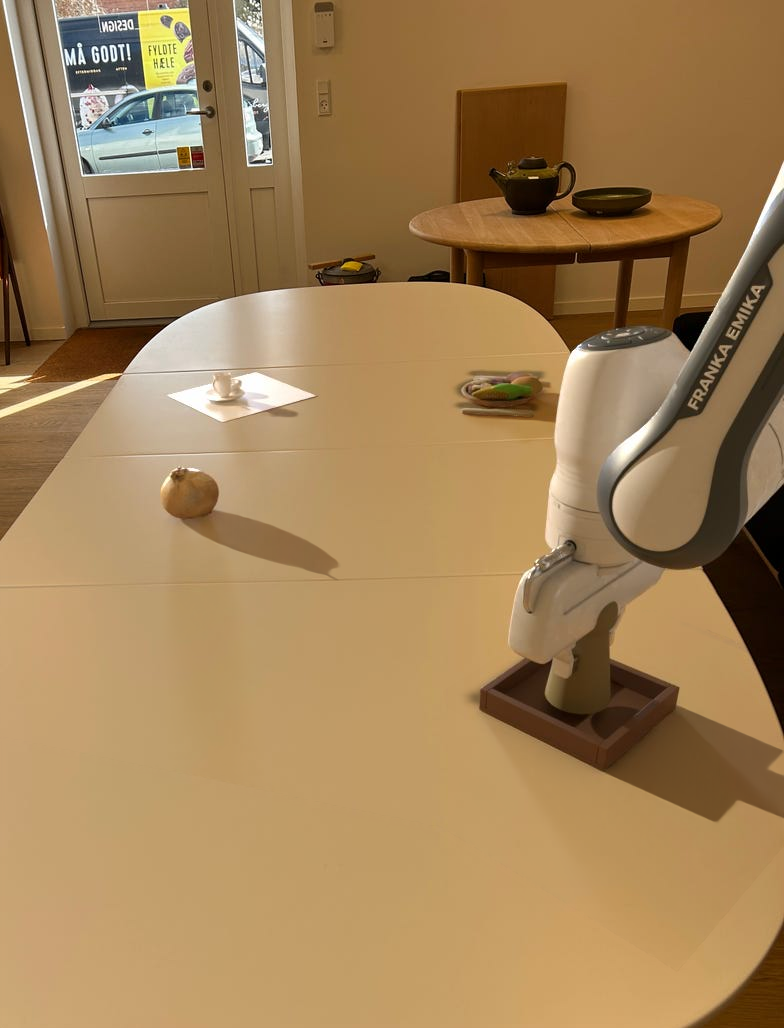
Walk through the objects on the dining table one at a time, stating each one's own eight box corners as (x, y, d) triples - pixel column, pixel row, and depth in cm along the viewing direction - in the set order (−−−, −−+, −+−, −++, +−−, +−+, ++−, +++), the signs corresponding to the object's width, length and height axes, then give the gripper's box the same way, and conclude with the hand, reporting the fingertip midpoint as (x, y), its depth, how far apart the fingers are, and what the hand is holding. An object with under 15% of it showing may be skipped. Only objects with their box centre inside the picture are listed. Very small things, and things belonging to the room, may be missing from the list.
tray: (675, 708, 92) (679, 687, 90) (603, 771, 85) (606, 749, 83) (553, 656, 100) (555, 635, 99) (478, 709, 93) (480, 688, 92)
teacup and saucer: (234, 385, 182) (232, 364, 180) (257, 395, 177) (255, 373, 175) (194, 396, 178) (191, 374, 176) (216, 406, 173) (214, 384, 171)
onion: (179, 499, 139) (173, 452, 135) (229, 505, 137) (225, 457, 133) (153, 523, 133) (146, 474, 129) (206, 529, 130) (200, 480, 126)
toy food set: (467, 378, 179) (468, 356, 177) (543, 380, 176) (545, 358, 174) (455, 414, 163) (456, 391, 161) (539, 417, 160) (541, 393, 158)
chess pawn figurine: (532, 697, 91) (541, 596, 86) (566, 669, 95) (578, 571, 89) (589, 722, 88) (602, 619, 82) (622, 693, 91) (638, 592, 85)
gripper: (562, 579, 74) (547, 723, 81) (692, 495, 86) (669, 628, 93) (495, 555, 78) (486, 694, 85) (628, 477, 89) (610, 606, 97)
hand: (582, 659), depth 89 cm, fingers closed on chess pawn figurine, 4 cm apart
